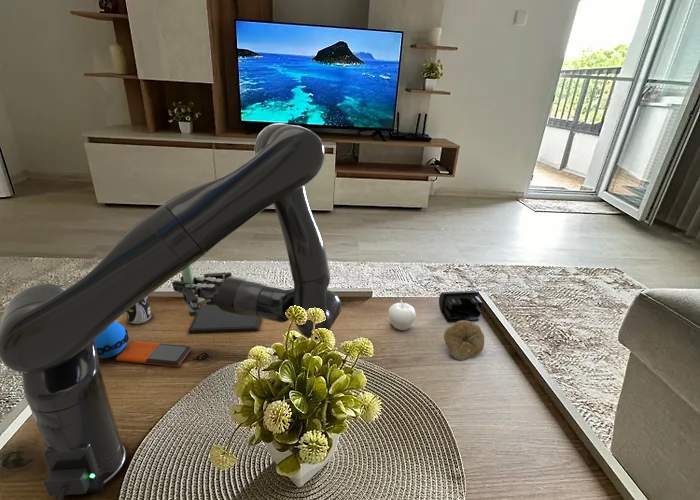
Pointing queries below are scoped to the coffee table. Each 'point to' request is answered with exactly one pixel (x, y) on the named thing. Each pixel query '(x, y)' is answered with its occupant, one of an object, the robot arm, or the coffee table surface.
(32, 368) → the robot arm
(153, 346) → the phone
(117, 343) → the ornament
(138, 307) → the beverage can
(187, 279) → the stylus
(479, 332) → the fossil
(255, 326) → the tablet
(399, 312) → the apple
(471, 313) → the end cap
